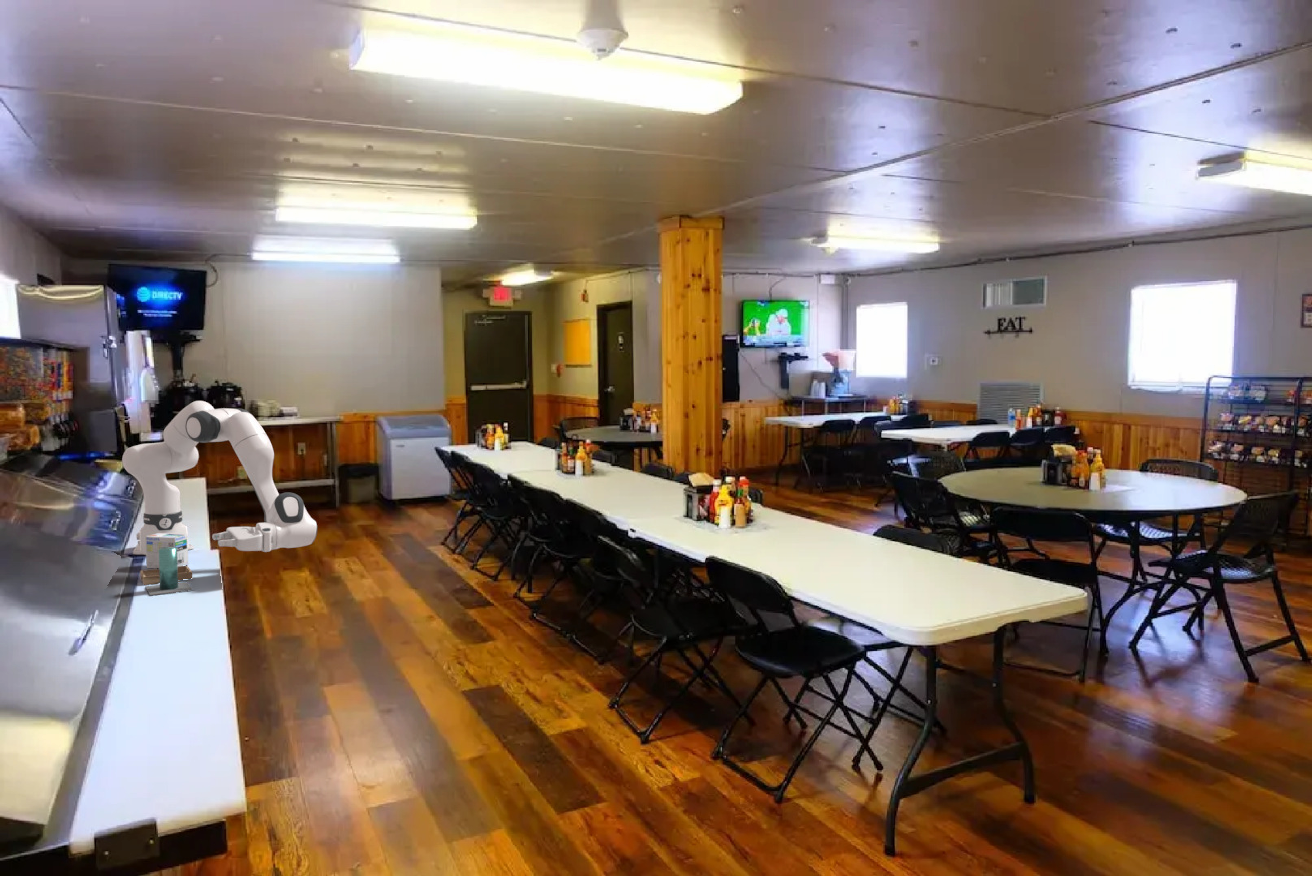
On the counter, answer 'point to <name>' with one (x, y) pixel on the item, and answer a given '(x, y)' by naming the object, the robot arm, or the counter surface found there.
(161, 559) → the teal translucent cylinder
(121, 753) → the counter surface
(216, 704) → the counter surface
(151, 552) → the light bulb box
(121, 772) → the counter surface
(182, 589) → the rubber mat
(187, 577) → the wooden frame
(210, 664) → the counter surface
